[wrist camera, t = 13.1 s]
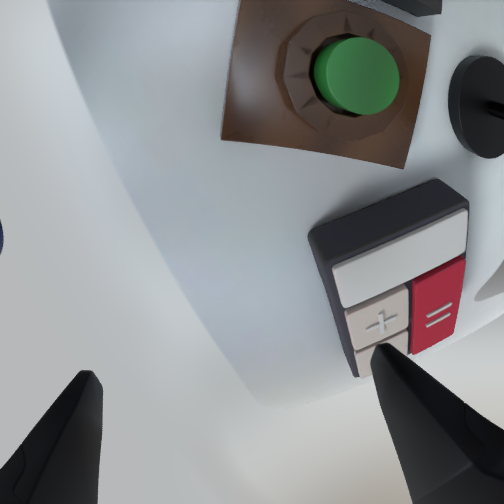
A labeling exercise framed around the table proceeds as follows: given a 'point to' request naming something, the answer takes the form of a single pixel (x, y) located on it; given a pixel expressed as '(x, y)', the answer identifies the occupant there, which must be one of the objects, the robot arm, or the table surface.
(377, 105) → the power button
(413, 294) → the calculator
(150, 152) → the table surface
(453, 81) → the desk lamp
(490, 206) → the table surface
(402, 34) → the switch block
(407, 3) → the panel
